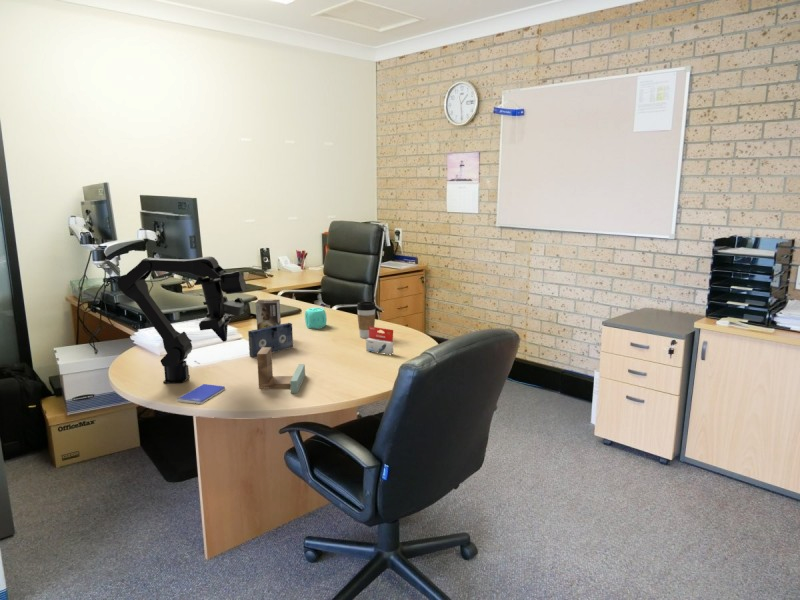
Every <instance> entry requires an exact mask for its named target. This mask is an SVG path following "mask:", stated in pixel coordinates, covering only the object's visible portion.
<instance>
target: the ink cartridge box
mask: <svg viewBox="0 0 800 600" xmlns="http://www.w3.org/2000/svg"><path fill="white" fill-rule="evenodd" d="M379 331H382V332H379ZM365 351H372V352H378V353H385V354H392V353H393V354H394V329H389V328H383V327H377V326H376V327H375V326H374V327H370V326H369V338H365ZM372 352H371V353H372ZM378 353H377V354H378Z"/></svg>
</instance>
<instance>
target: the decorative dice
mask: <svg viewBox="0 0 800 600" xmlns="http://www.w3.org/2000/svg"><path fill="white" fill-rule="evenodd" d="M304 320H305V325H306V328H309V329H314V330H315V329H322V328H325V326H326V325H327V313H326V310H325V309H324V308H322V307H310V308H307V309H306V310H305V312H304Z"/></svg>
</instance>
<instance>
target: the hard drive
mask: <svg viewBox="0 0 800 600" xmlns="http://www.w3.org/2000/svg"><path fill="white" fill-rule="evenodd" d="M225 390H226V387H225V386H222V385H217V384H216V385H215V384H207V383H203V384H201V385H200V386H197V387H195V388H194V389H192V390H191V391H189V392H186V393H185V394H183V395H182V396H179V397H177V402H180V403H181V402H182V403H187V404H195V403H196V405H203V404H204V403H205V401H206V402H207V401H209V400H210V399H212V398H214V397H215V396H216V395H219V394H220V393H222V392H224V391H225ZM218 393H219V394H218ZM213 396H214V397H213ZM208 399H209V400H208ZM203 402H204V403H203Z"/></svg>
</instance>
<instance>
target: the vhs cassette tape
mask: <svg viewBox="0 0 800 600" xmlns="http://www.w3.org/2000/svg"><path fill="white" fill-rule="evenodd" d="M247 333H248V335H247V336H248V345H249V346H248V350H249V357H252V358H257V353H258V352H259V351H260V349H261V348H262V347H271V352H272V354H273V353H276V352H277V353H278V352H280V351H284V350H288V349H292V348H294V340H293V339H294V338H293V337H294V336H293V323H291V322H287V323H281V325H276V326H271V327H266V328H261V329H257V328H256V329H251V330H248V331H247Z"/></svg>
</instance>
